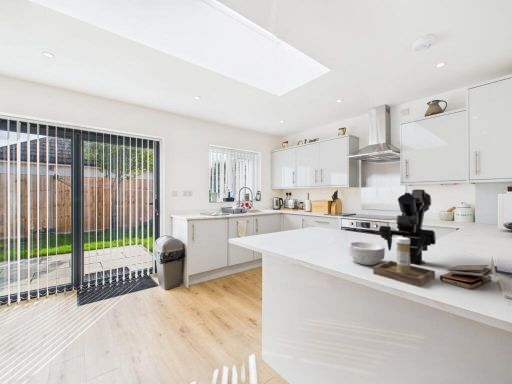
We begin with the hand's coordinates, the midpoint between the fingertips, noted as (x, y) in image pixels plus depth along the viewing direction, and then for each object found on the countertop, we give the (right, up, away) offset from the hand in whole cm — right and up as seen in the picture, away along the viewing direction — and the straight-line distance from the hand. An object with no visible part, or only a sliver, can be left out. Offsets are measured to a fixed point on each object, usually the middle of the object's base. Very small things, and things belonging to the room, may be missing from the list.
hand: (402, 252), depth 90 cm
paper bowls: (-5, -10, +18) cm, 21 cm away
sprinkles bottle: (+1, -8, +1) cm, 8 cm away
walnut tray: (+1, -9, +1) cm, 9 cm away
